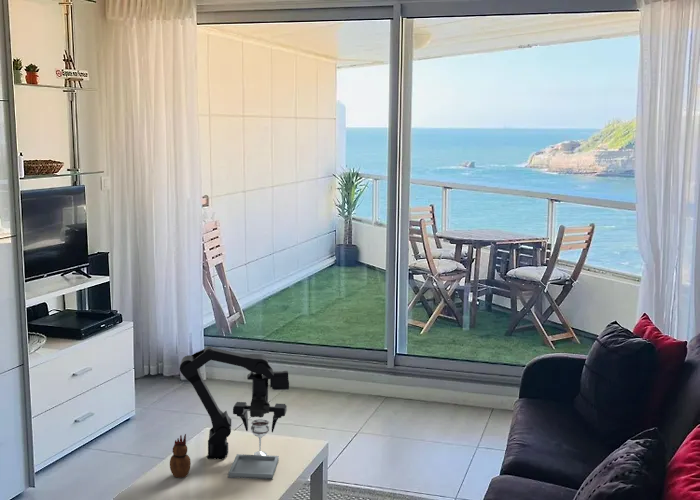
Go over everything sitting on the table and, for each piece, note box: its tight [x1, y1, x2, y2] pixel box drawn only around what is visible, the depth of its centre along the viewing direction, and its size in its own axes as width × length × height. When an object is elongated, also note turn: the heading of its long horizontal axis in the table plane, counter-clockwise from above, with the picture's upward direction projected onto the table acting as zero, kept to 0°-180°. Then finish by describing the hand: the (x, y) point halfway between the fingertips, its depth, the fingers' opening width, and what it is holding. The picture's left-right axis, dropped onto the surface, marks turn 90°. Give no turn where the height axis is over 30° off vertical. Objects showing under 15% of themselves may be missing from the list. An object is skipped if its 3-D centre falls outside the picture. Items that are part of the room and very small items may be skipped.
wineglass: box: [250, 418, 270, 455], centre depth 278 cm, size 7×7×12 cm
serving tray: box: [227, 453, 280, 480], centre depth 266 cm, size 15×15×2 cm
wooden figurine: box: [169, 433, 191, 479], centre depth 259 cm, size 7×6×15 cm
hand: (259, 431), depth 277 cm, fingers open, 9 cm apart
